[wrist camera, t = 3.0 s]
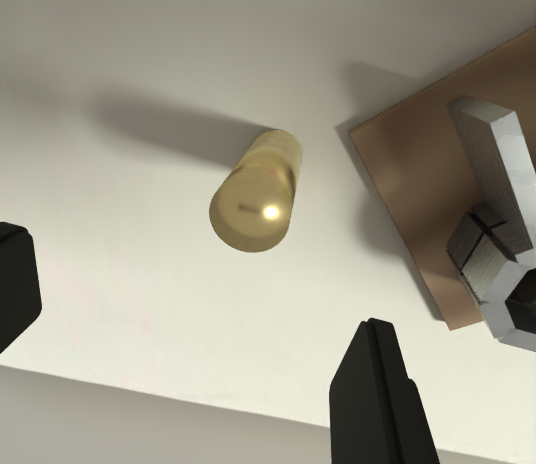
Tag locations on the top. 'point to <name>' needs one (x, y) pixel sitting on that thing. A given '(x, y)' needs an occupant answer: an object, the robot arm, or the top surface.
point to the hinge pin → (258, 194)
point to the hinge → (497, 222)
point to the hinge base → (444, 162)
